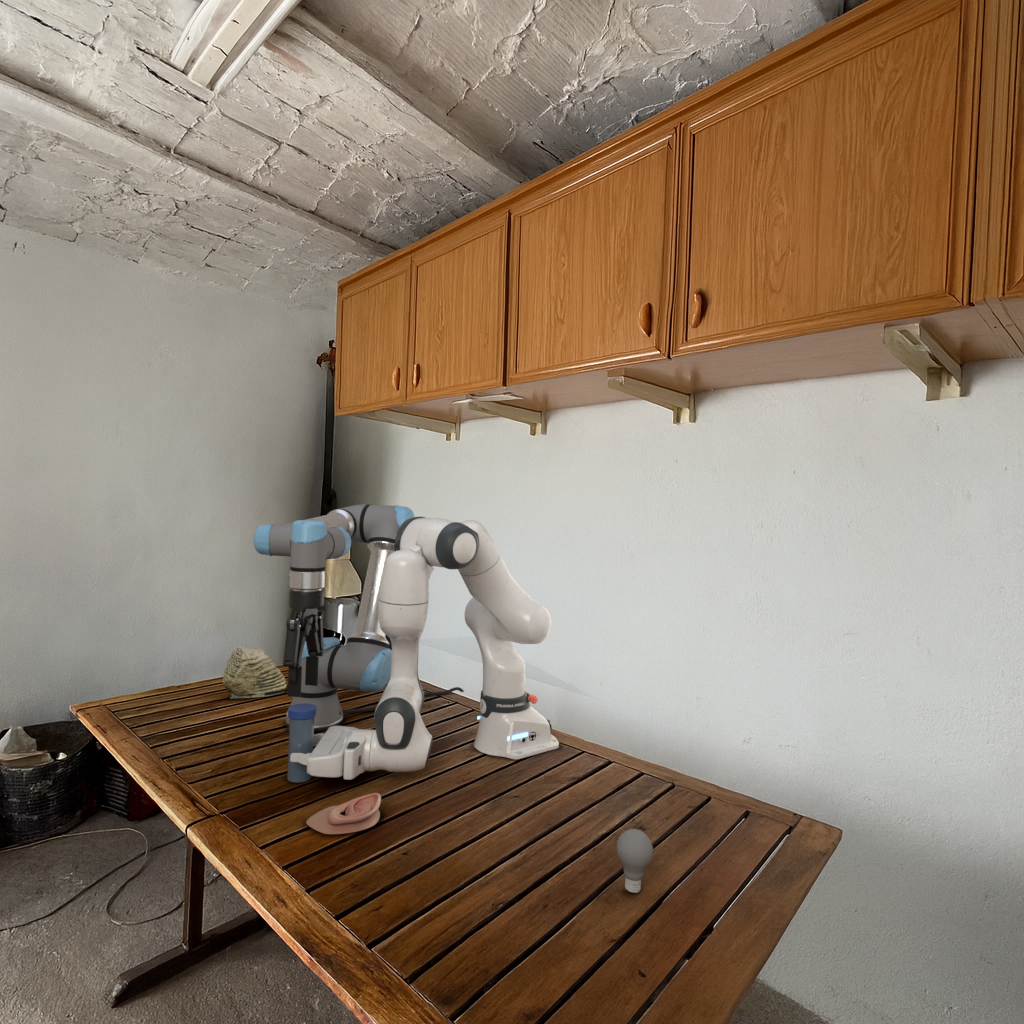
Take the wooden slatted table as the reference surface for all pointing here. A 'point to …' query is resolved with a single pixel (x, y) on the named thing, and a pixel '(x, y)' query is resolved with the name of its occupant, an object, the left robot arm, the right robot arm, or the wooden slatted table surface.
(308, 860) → the wooden slatted table surface
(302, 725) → the jar
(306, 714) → the lid
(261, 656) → the fossil
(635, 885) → the light bulb
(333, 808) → the anatomical model
